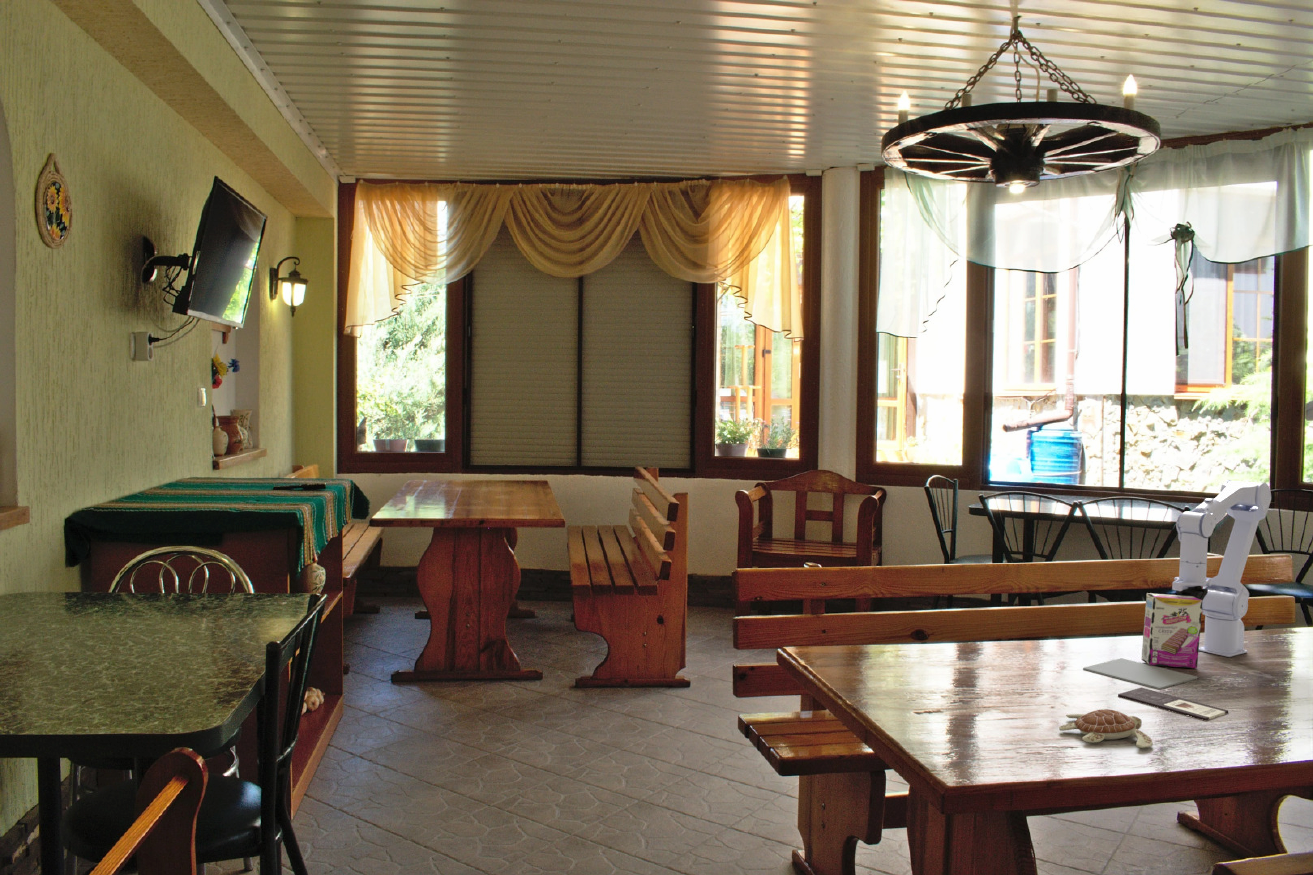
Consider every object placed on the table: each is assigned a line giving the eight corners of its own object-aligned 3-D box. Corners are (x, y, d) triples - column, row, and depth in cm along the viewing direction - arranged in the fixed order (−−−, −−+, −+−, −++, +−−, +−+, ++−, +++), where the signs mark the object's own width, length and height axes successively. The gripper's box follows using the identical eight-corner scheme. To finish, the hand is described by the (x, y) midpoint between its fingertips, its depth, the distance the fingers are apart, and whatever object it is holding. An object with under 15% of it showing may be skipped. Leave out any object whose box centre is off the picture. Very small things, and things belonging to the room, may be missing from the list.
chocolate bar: (1141, 687, 211) (1228, 710, 196) (1141, 691, 211) (1228, 715, 196) (1118, 694, 206) (1205, 718, 191) (1117, 698, 206) (1205, 722, 191)
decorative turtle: (1181, 748, 177) (1182, 721, 177) (1110, 759, 171) (1111, 731, 171) (1103, 716, 194) (1103, 692, 194) (1036, 725, 188) (1037, 700, 188)
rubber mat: (1121, 659, 235) (1121, 658, 235) (1197, 678, 220) (1197, 676, 220) (1083, 669, 226) (1083, 667, 226) (1159, 689, 211) (1159, 687, 211)
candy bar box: (1149, 665, 229) (1153, 596, 228) (1140, 660, 234) (1144, 592, 233) (1199, 669, 228) (1203, 599, 227) (1189, 663, 233) (1193, 595, 232)
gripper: (1191, 557, 242) (1189, 611, 243) (1160, 561, 234) (1158, 617, 234) (1221, 561, 236) (1218, 617, 237) (1190, 565, 228) (1187, 623, 229)
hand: (1190, 617), depth 235 cm, fingers closed
